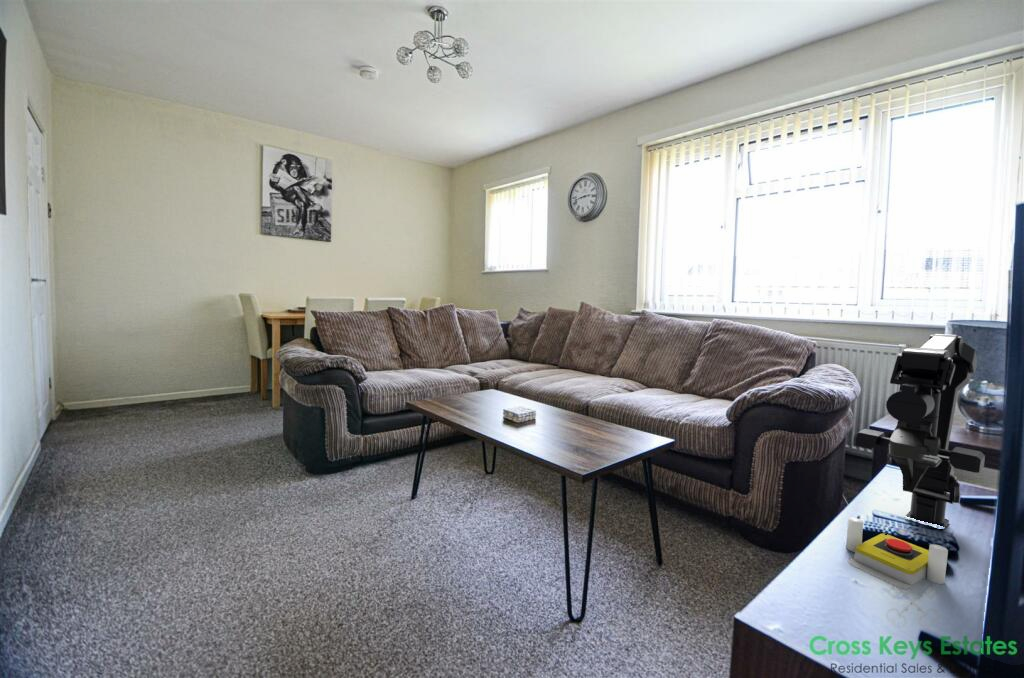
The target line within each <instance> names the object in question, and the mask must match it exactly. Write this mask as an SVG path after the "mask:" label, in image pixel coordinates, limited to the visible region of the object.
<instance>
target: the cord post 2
mask: <svg viewBox="0 0 1024 678" xmlns="http://www.w3.org/2000/svg"><path fill="white" fill-rule="evenodd" d="M928 550H929V556H928V565H927V575H926V578H925V579H927V580H928V581H930V582H932V583H935V584H939V585H944V584H945V583H946V582H945V581H946V572H947V563H948V556H949V555H948V554H949V550H948V549H947V548H946V547H944V546H943V545H939V544H933V543H932V544H929V547H928Z"/></svg>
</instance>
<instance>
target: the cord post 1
mask: <svg viewBox="0 0 1024 678" xmlns="http://www.w3.org/2000/svg"><path fill="white" fill-rule="evenodd" d="M863 529H864V521H863V520H862V519H860V518H857V517H848V518H847V529H846V545H845V549H847V550H848V551H849V552H850V551H851V552H853V553H855V551H856V546H858V545H860V544H862V543H863V531H864V530H863Z"/></svg>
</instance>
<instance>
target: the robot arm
mask: <svg viewBox="0 0 1024 678" xmlns="http://www.w3.org/2000/svg"><path fill="white" fill-rule="evenodd" d="M977 365H978V358H977V351H976V349H975V348H973V347H971V346H970V345H968V344H967V343H966V342H964V339H963V336H960V335H958V334H946V333H945V334H944V333H943V334H942V333H935V334H930V336H929V339H928V340H927V341H926V342H925V343H924V344H922V346H920V347H907V348H904V349H903V350H902V352H901V353H898V354H897V357H896V360H895V364H894V366H893V370H892V374H891V377H890V380H889V384H891V385H892V384H893V385H899V389H898V391H896V392H894V393H892V394H891V395H890V396H888V398H887V400H886V402H885V408H886V411H887V413H888V414H889V415H890V416H891V417H892V418H893V419H895V420H896V421H897V424H896V426H895V427H894V430H893V432H892V433H891V436H890V437H886V433H885V432H884V431H878V430H874V429H870V428H864V429H862V430H860V431H858V432H856V433H855V434H854V436H853V440H852V441H853V443H852V444H853V446H855V447H859V448H864V449H868V450H871V449H874V448H875V447H877V446H880V447H883V448H888V449H889V450H888V453H887V457H888V458H892V459H893V460H894V462H895V463H897V465H898V467H899V469H900V472H901V475H902V491H903V492H909V493H911V502H910V510H909V511H908V512H907V514H906V515H905V516H907V517H910V518H914V519H916V520H920V521H924V522H928V523H932V524H937V525H940V526H943V527H945V526H946V527H947V526H948V525H949V523H950V520H949V519H946V509H947V503H948V504H951V505H953V504H960V500H961V484H960V483H959V482H958V477H957V476H956V475H955V469H958V470H961V471H965V472H970V473H976V474H977V473H979V474H980V472H981V471H982V470H983V468H984V467H985V459H986V458H985V457H986V455H985V454H984V453H983V452H982V451H980V450H975V449H970V448H964V447H960V446H959V447H958V446H955V447H954V448H953V449H952V450H949V445H950V441H951V433H952V428H953V422H954V417H955V411H956V406H957V400H958V394H959V393H958V392H959V391H961V390H962V389H963V388H964V387H966V386H967V385H968V384H969V383H970V382H971V377H972V374H976V370H977ZM946 527H945V528H946Z"/></svg>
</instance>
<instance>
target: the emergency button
mask: <svg viewBox="0 0 1024 678" xmlns="http://www.w3.org/2000/svg"><path fill="white" fill-rule="evenodd" d="M885 534H886V533H880V534H877V535H876V536H874V537H871V538H869V539H868V540H865V541H864V542H863V541H862V544H860V545H858V546H856V551H855V552H854V555H853V556H854V557H853V558H851V559H849V560H848V561H847V562H848V564H849V565H851V566H852V567H853V568H855V569H858V570H860V571H863V572H865V573H867V574H869V575H871V576H873V577H875V578H878V579H880V580H882V581H883V582H886V583H888V584H891V585H893V586H894V587H896V588H899V589H902V590H910V589H911V588H913V587H914V586H915V585H917V584H919V583H920V582H922V581H924V580H925V579H927V578H926V575H927V565H928V556H929V549H926V548H924V547H921V546H918V545H916V544H913V543H910V542H908V541H905V540H903V539H900V538H897V537H895V536H892V535H890V534H887V535H885Z"/></svg>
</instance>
